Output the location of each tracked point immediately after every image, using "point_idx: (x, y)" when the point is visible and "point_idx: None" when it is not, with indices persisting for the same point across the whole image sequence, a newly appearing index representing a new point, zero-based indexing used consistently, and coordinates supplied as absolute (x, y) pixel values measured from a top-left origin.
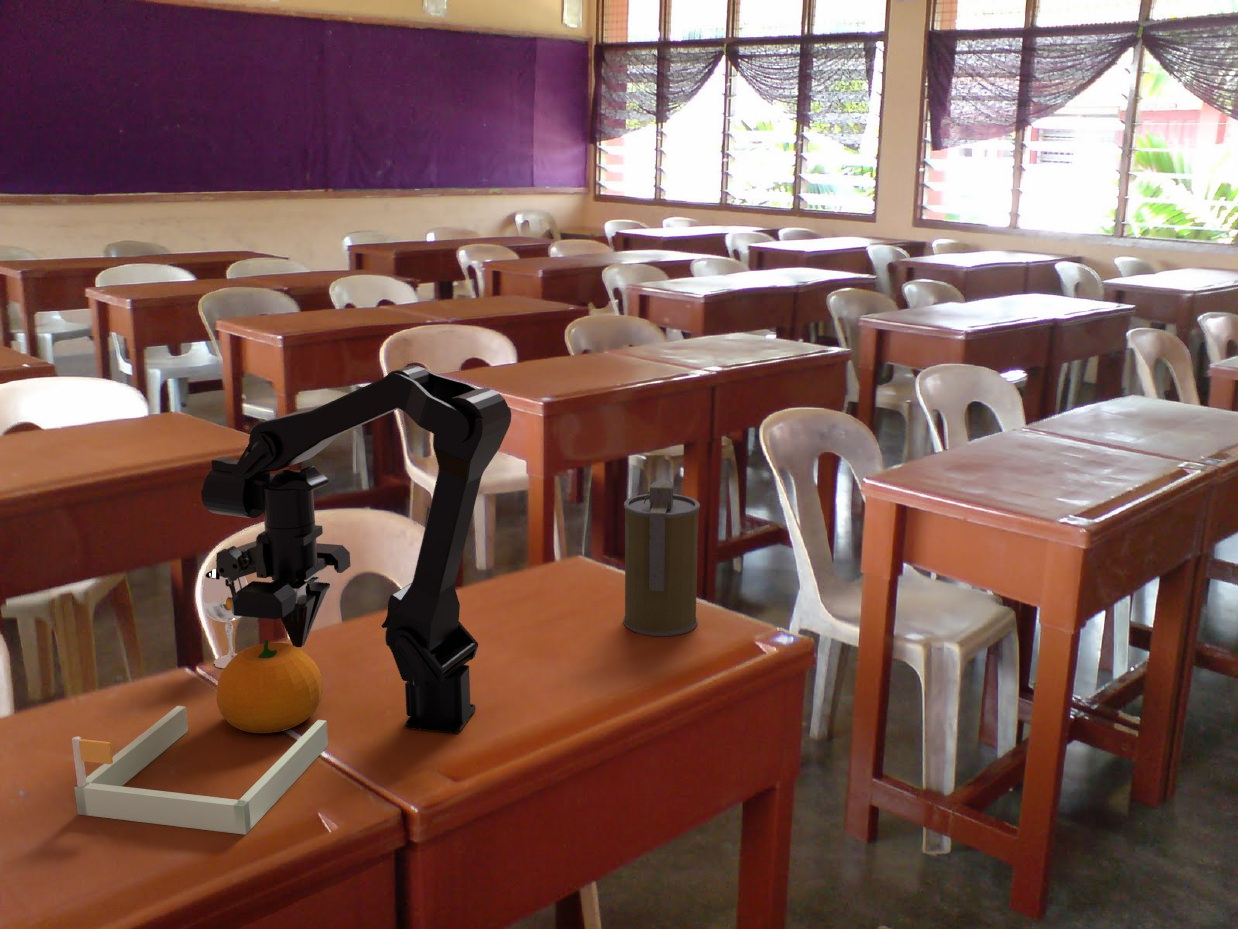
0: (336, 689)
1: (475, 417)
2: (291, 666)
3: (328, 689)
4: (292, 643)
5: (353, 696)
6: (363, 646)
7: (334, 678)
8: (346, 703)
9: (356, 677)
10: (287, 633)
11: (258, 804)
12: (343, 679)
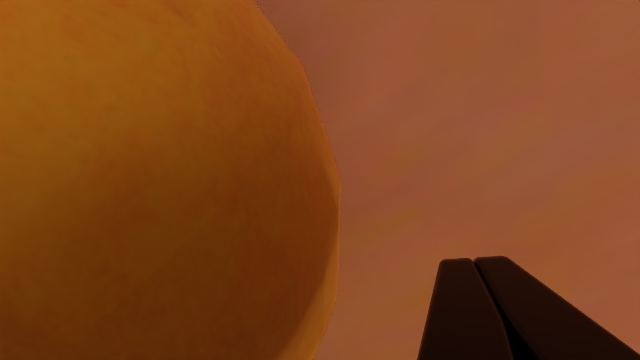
0: (472, 240)
1: None
2: None
3: (465, 209)
4: (438, 278)
5: (417, 327)
6: None
7: (596, 177)
8: (348, 330)
9: (614, 261)
10: (421, 350)
11: None
12: (587, 220)
